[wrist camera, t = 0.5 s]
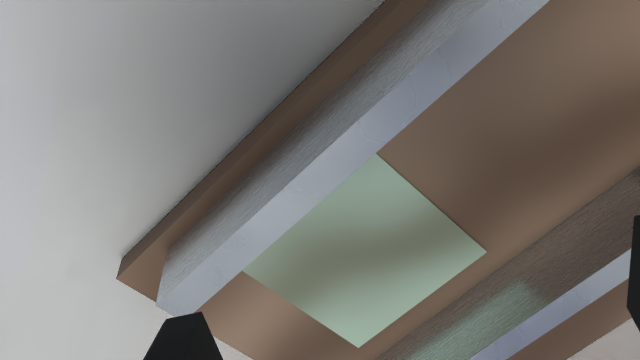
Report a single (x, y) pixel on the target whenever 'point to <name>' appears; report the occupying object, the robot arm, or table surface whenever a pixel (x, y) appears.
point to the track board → (431, 192)
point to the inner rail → (535, 285)
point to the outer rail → (335, 142)
